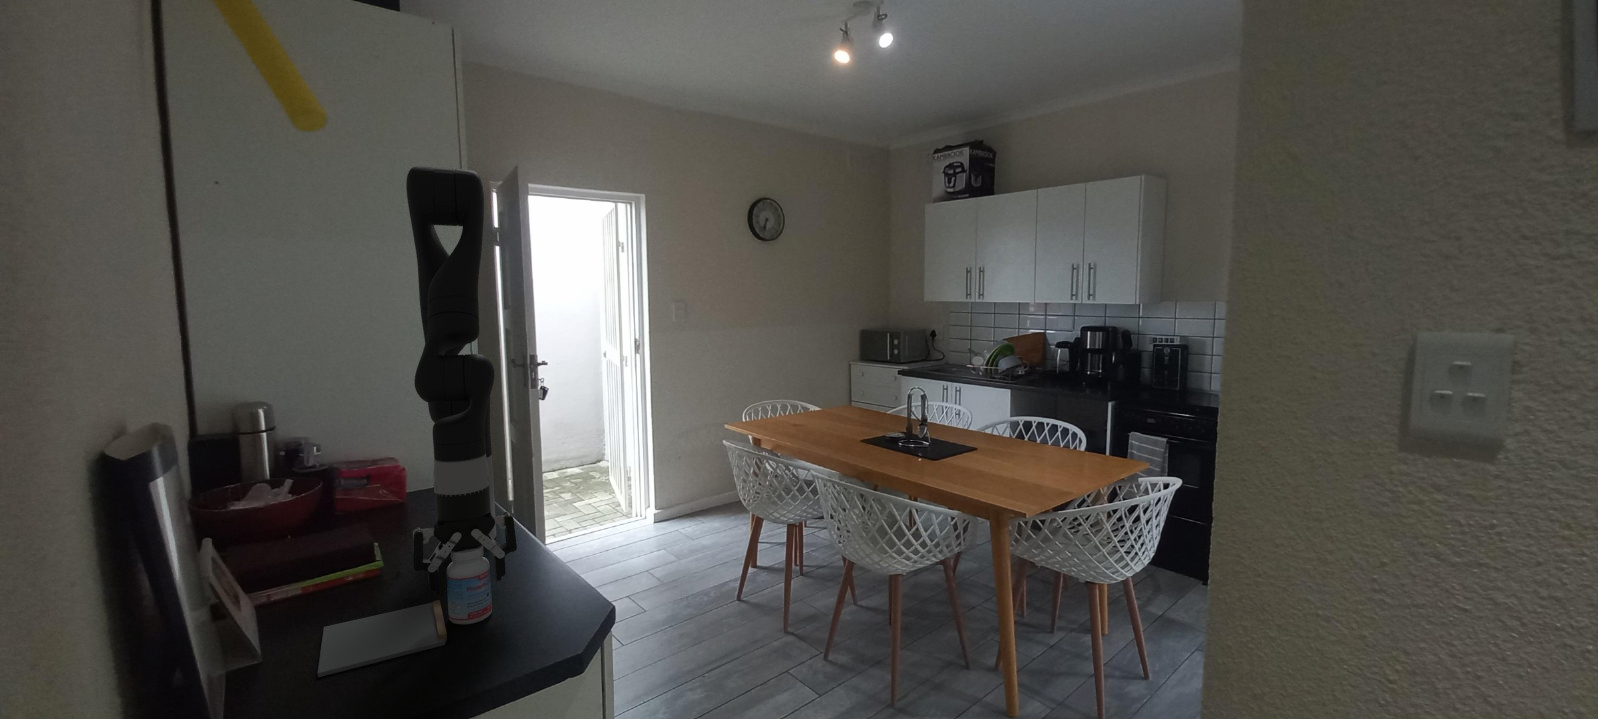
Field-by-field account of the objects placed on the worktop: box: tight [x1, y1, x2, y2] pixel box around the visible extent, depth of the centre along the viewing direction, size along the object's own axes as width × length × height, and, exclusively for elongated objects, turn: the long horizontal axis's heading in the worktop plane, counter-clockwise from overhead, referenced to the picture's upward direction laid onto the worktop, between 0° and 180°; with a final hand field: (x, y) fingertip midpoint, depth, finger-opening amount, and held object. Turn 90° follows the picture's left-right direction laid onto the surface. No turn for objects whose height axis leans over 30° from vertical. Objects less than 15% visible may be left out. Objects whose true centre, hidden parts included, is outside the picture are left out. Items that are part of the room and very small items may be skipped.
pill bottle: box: [446, 545, 493, 625], centre depth 104 cm, size 6×6×11 cm
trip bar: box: [432, 599, 448, 642], centre depth 102 cm, size 12×1×1 cm, turn 32°
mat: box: [317, 602, 446, 678], centre depth 98 cm, size 14×15×1 cm
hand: (468, 585), depth 104 cm, fingers open, 8 cm apart
